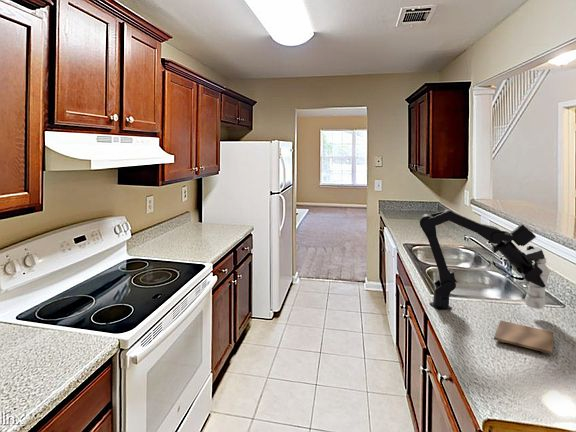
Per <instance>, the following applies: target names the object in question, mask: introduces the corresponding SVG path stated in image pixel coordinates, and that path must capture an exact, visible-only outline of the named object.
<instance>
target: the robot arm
mask: <svg viewBox="0 0 576 432" xmlns="http://www.w3.org/2000/svg"><path fill="white" fill-rule="evenodd" d="M418 222H419V226H420V228H421V230H422V232H423V234H424V235H425V236H426V238H427V240H428V243H429V247H430V249H431V253H432V256H433V259H434V261H435V265H436V267H437V274H438V279H437V280H436V281H435V282H433V288H434V289H433V295H432V296H433V298H432V299H433V300H432V301H431V302H429V305H431V306H432V307H433V308H434V309H435V310H451V309H452V308H453V307H452V306H451V305H450V295H451V293H452V292H453V291H454V290H455V289H456V288H457V287H456V286H457V283H458V280H457V278H456V276H455V272H454V270H453V268H450V269H449V268H448V266H447V263H446V260H445V257H444V253H443V251H442V248H441V245H440V243H439V240H438V236H437V227H436V226H439V225H442V224H445V223H446V222H451V223H452V224H453V223H454V224H455V225H458V226H461V227H462V228H465V229H467V230H470V231H472V232H473V233H476V234H477V235H479V236H481V237H482V238H483V239H484V240H487V242H490V243H491V244H492V245H491V247H492V248H491V252H492V253H493V254H497V252H499V253H500V254H501V255H502V256H503V257H504V258H505V259H506V260H507V262H509V263H510V266H511V267H512V268H514V270H515V271H517V272H518V273H519V274H521V276H522V278H523V279H524V280H525V281H526V282H527V283H529V282H532V283H534V284H536V285H538V286H540V287H543V288H544V287H545V284H544V282H543V280H542V279H541V277H540V274H542V273H543V271H542V270H541V269H540V268H539V267H538V266H537V265H533V264H534V260H537V259H542V258H546V257H545V254H544V251H543V249H542V248H540V247H537V246H535V247H534V246H533V245H532V244H531V245H527V244H529V243H531V242H532V241H533V240H535V238H537V236H536V235H535V234H534V233H533V232H532V231H531V230H530V229H529V228H528V227H526V226H525V225H524V224H523V223H521V224H519V225H518V226H517V227H516V228H515V229H512V230H511V231H510V232H509V231H505V230H501V229H500V228H498V227H496V226H494V225H488V224H484V223H480V222H477V221H475V220H473V219H471V218H468V217H466V216H464V215H462V214H459V213H457V212H454V211H453V210H451V209H445V210H443V211H437V212H435V213H431V214H429V213H424V214H422V215H421V216H420V217H419V219H418ZM513 242H514V243H513ZM516 245H517V246H518V247H517V246H516ZM526 245H527V246H526ZM520 246H521V247H525V246H526V250H525V251H522V250H521V249H520V248H519V247H520Z"/></svg>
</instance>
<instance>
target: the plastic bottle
mask: <svg viewBox="0 0 576 432" xmlns="http://www.w3.org/2000/svg"><path fill="white" fill-rule="evenodd" d="M532 265H537V266H538V267H539V268H540V269H541V270H542V271H543V273H542V274H540V277H541V279H542V280H543V282H544V284H545V287H544V288H543V287H540V286H538V285H536V284H534V283H532V282H528V288H527V293H526V295H525V299H524V303H525V305H526V306H527V307H528V308H532V309H537V310H540V309H541V310H542V309H543V308H544V307H545V306H546V286H547V283H548V279H549V275H550V269H549V268H548V266H547V258H546V257H545V258H542V259H537V260H534V261H533V263H532Z"/></svg>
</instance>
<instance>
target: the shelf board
mask: <svg viewBox="0 0 576 432" xmlns="http://www.w3.org/2000/svg"><path fill="white" fill-rule="evenodd" d="M493 340H496V341H498V343H499V344H504V343H506V344H511V345H514V346H517V347H522V348H525V349H526V348H527V349H529V350H535V351H538V352H540V353H541V354H543V355H548V354H551V355H553V347H554V345H553V343H554V331H551V330H550V331H549V330H544V329H541V328H536V327H532V326H527V325H523V324H519V323H514V322H510V321H506V320H500V321H499V324H498V326H497V329H496V331H495V334H494V336H493Z"/></svg>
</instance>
